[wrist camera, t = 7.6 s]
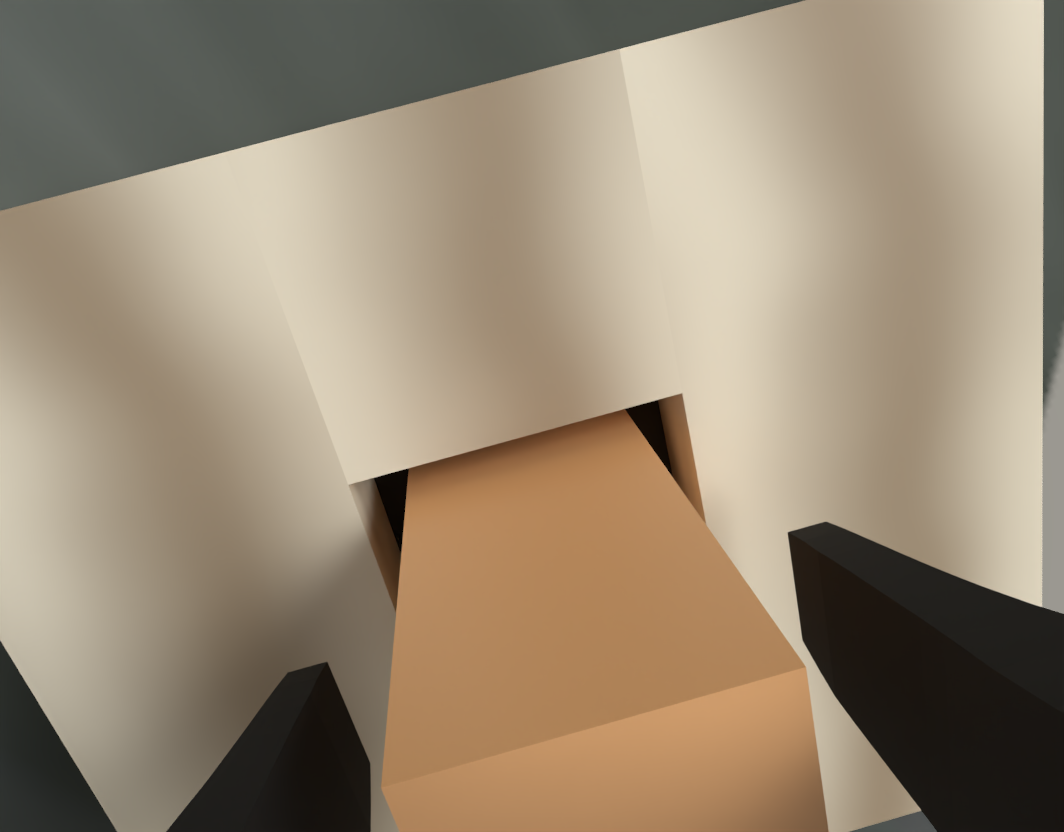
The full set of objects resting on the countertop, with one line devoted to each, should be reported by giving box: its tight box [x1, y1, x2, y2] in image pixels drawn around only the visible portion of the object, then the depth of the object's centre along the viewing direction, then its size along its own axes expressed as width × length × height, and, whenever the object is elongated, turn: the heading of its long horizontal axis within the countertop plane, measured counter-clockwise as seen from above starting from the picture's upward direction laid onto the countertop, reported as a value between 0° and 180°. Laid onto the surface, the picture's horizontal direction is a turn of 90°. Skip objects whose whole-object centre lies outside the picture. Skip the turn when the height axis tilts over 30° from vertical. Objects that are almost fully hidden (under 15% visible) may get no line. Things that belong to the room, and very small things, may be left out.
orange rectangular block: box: [381, 409, 829, 832], centre depth 11 cm, size 4×4×8 cm
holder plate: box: [0, 0, 1044, 832], centre depth 14 cm, size 18×16×2 cm
